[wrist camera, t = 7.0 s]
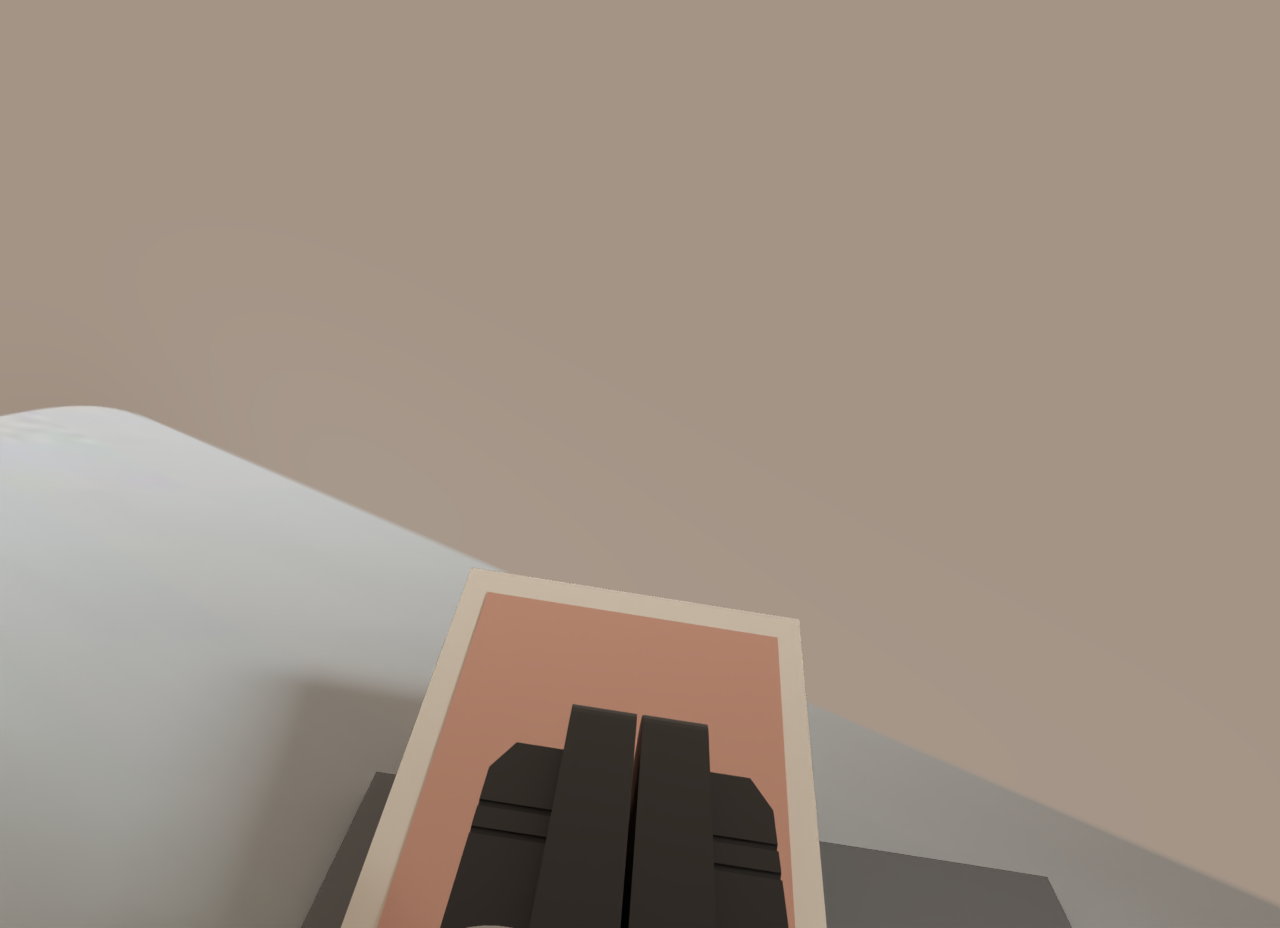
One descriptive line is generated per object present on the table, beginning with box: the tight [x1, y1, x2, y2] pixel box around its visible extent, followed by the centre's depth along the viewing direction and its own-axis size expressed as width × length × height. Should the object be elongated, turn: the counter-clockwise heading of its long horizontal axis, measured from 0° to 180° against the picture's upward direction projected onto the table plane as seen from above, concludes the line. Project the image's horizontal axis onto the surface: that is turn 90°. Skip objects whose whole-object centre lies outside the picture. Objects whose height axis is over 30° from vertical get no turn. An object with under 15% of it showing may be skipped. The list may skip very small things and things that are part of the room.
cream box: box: [341, 568, 827, 928], centre depth 18 cm, size 7×2×12 cm
